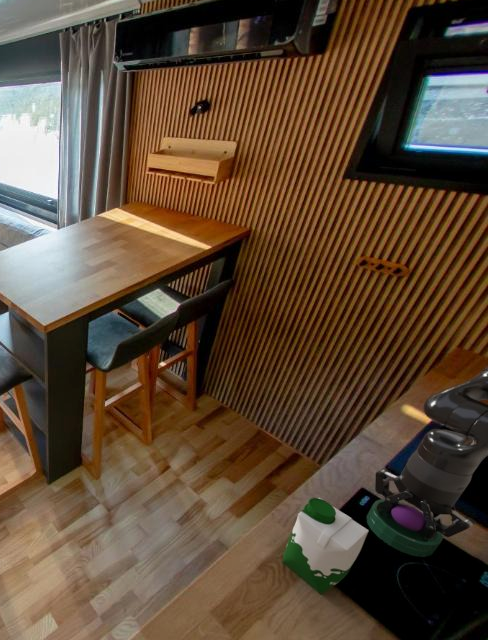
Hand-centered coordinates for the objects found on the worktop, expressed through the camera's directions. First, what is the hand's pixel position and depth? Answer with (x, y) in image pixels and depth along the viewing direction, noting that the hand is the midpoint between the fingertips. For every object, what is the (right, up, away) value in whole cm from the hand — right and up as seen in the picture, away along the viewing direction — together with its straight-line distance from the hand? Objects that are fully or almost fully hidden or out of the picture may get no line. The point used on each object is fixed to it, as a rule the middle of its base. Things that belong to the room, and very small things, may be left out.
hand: (405, 522), depth 82 cm
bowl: (+1, -4, +2) cm, 5 cm away
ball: (0, +2, -1) cm, 2 cm away
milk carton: (-23, -10, -1) cm, 25 cm away
